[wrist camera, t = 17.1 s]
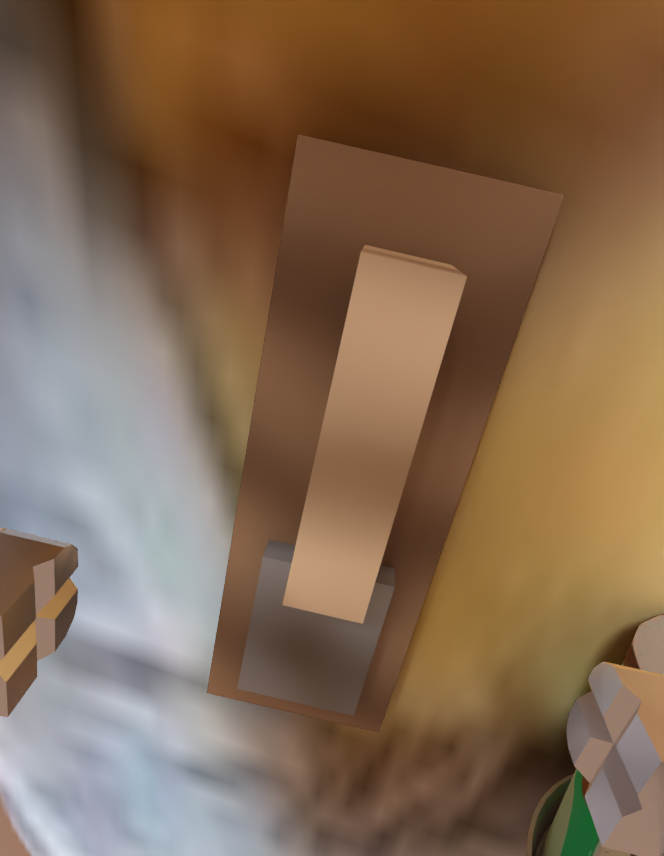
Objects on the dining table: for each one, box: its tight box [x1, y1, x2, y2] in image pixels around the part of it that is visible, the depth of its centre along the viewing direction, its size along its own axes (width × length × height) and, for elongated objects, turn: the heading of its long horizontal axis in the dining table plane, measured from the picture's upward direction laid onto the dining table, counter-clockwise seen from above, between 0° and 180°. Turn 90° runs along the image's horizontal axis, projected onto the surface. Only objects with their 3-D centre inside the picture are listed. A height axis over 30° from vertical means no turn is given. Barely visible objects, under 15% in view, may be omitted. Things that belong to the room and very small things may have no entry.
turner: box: [237, 245, 467, 716], centre depth 16 cm, size 16×4×3 cm, turn 168°
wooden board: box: [207, 134, 565, 732], centre depth 18 cm, size 20×7×1 cm, turn 168°
